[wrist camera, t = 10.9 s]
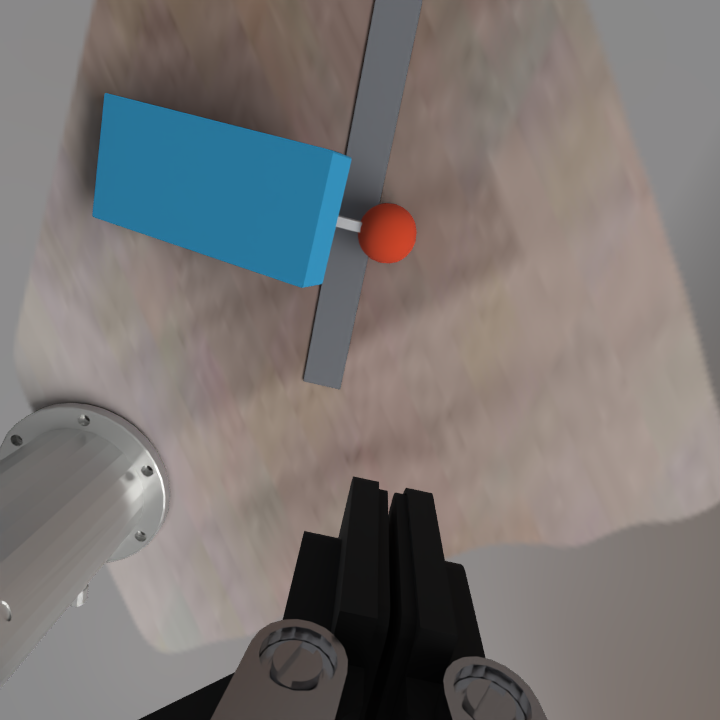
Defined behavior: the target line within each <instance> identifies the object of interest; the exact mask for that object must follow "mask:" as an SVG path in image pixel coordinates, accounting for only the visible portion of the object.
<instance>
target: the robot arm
mask: <svg viewBox="0 0 720 720" xmlns="http://www.w3.org/2000/svg"><path fill="white" fill-rule="evenodd" d="M169 502H170V487H169V480H168V476H167V473H166V470H165V466H164V464H163V462H162V460H161V458H160V456H159V454H158V452H157V451H156V449H155V448H154V447H153V446H152V444H151V443H150V442H149V440H148V439H147V438H146V437H145V436H144V435H143V434H142V433H141V432H140V431H139V430H138V429H137V428H136V427H135V426H133V425H132V424H130V423H129V422H128V421H126V420H125V419H123V418H122V417H120V416H118V415H116V414H114V413H112V412H110V411H108V410H105V409H103V408H99V407H96V406H92V405H88V404H79V403H63V404H54V405H51V406H48V407H45V408H41V409H39V410H38V411H36V412H34V413H32V414H30V415H28V416H27V417H25V418H24V419H22V420H21V421H20V422H18V423H17V424H16V425H15V426H14V427H13V428H12V429H11V430H10V431H9V432H8V434H7V435H6V437H5V439H4V441H3V443H2V445H1V447H0V689H1V688H2V687H3V686H4V684H5V683H6V682H7V681H8V679H9V678H10V677H11V676H12V675H13V674H14V672H15V671H16V670H17V669H18V668H19V666H20V665H21V664H22V663H23V662H24V660H25V659H26V658H27V657H28V656H29V654H30V653H31V652H32V651H33V649H34V648H35V647H36V646H37V644H38V643H39V642H40V641H41V640H42V639H43V637H44V636H45V635H46V634H47V632H48V631H49V630H50V629H51V628H52V627H53V625H54V624H55V623H56V622H57V620H58V619H59V618H60V617H61V616H62V614H63V613H64V612H65V611H66V610H67V608H68V607H69V606H72V607H77V606H81V605H83V604H84V603H85V602H86V601H87V598H88V583H89V582H90V581H91V579H92V578H93V577H94V576H95V575H96V573H97V572H98V571H99V570H100V569H101V567H102V566H103V565H104V564H105V563H108V562H114V561H118V560H122V559H125V558H127V557H129V556H132V555H134V554H136V553H137V552H139V551H140V550H141V549H143V548H144V547H145V546H147V545H148V544H149V542H150V541H151V540H152V539H153V538H154V536H155V535H156V534H157V532H158V531H159V529H160V528H161V526H162V525H163V523H164V521H165V518H166V515H167V513H168V510H169ZM139 720H548V719H547V717H546V715H545V713H544V711H543V709H542V707H541V705H540V703H539V701H538V699H537V697H536V696H535V694H534V693H533V691H532V690H531V688H530V687H529V686H528V684H527V683H526V682H524V680H523V679H522V678H521V677H520V676H519V675H517V674H516V673H514V672H513V671H512V670H510V669H509V668H507V667H506V666H504V665H502V664H500V663H498V662H495V661H493V660H491V659H486V658H485V654H484V650H483V645H482V641H481V637H480V633H479V628H478V624H477V621H476V615H475V611H474V607H473V603H472V598H471V594H470V590H469V585H468V582H467V577H466V573H465V570H464V567H463V566H462V565H461V564H457V563H452V562H448V561H445V559H444V554H443V548H442V543H441V537H440V532H439V526H438V521H437V515H436V510H435V504H434V499H433V494H432V493H428V492H423V491H419V490H414V489H409V488H406V489H405V491H404V493H403V494H400V493H394V496H393V499H392V503H391V507H390V510H389V514H388V491H386V490H381V489H379V482H377V481H372V480H367V479H363V478H358V477H353V479H352V482H351V486H350V491H349V495H348V499H347V503H346V508H345V512H344V516H343V520H342V525H341V529H340V533H339V537H338V538H335V537H330V536H325V535H321V534H316V533H311V532H306V531H304V534H303V538H302V542H301V547H300V551H299V555H298V559H297V563H296V567H295V571H294V575H293V580H292V584H291V588H290V592H289V596H288V600H287V604H286V608H285V613H284V617H283V620H281V621H277V622H274V623H270V624H269V625H267V626H266V627H264V628H263V629H261V630H260V631H259V632H258V633H257V634H256V636H255V637H254V638H253V639H252V641H251V643H250V644H249V646H248V648H247V650H246V652H245V654H244V656H243V658H242V660H241V662H240V664H239V666H238V668H237V670H236V671H235V672H234V673H233V674H230V675H228V676H226V677H224V678H223V679H220V680H218V681H216V682H214V683H212V684H210V685H208V686H206V687H204V688H202V689H200V690H198V691H196V692H194V693H192V694H190V695H188V696H186V697H184V698H182V699H179V700H177V701H175V702H173V703H171V704H169V705H167V706H165V707H163V708H161V709H159V710H157V711H155V712H153V713H151V714H149V715H147V716H145V717H143V718H141V719H139Z"/></svg>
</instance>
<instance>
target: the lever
mask: <svg viewBox="0 0 720 720" xmlns="http://www.w3.org/2000/svg"><path fill="white" fill-rule="evenodd" d="M351 160H352V159H351V157H349V156H346V155H343V154H341V153H338V152H335V151H332V150H329V149H325V148H321V147H317V146H313V145H309V144H305V143H301V142H297V141H293V140H289V139H285V138H281V137H277V136H273V135H270V134H266V133H262V132H258V131H254V130H250V129H246V128H242V127H238V126H234V125H230V124H226V123H222V122H218V121H214V120H210V119H207V118H203V117H199V116H195V115H191V114H187V113H183V112H179V111H175V110H171V109H167V108H163V107H159V106H155V105H151V104H147V103H144V102H140V101H136V100H132V99H128V98H124V97H120V96H116V95H112V94H108V93H105V95H104V105H103V115H102V125H101V135H100V145H99V155H98V165H97V175H96V185H95V195H94V205H93V217H95V218H98V219H101V220H104V221H107V222H110V223H112V224H115V225H118V226H121V227H124V228H127V229H130V230H133V231H136V232H139V233H142V234H145V235H148V236H151V237H154V238H157V239H160V240H163V241H165V242H168V243H171V244H174V245H177V246H180V247H183V248H186V249H189V250H192V251H195V252H198V253H201V254H204V255H207V256H210V257H213V258H216V259H219V260H221V261H224V262H227V263H230V264H233V265H236V266H239V267H242V268H245V269H248V270H251V271H254V272H257V273H260V274H263V275H266V276H269V277H272V278H274V279H277V280H280V281H283V282H286V283H289V284H292V285H295V286H298V287H301V288H303V287H309V286H314V285H320V284H322V283H323V279H324V275H325V271H326V267H327V262H328V258H329V254H330V250H331V245H332V241H333V237H334V233H335V228H336V227H340V228H344V229H347V230H351V231H355V232H358V240H359V244H360V246H361V248H362V250H363V251H364V253H365V254H366V255H367V256H368V257H370V258H371V259H373V260H375V261H377V262H380V263H393V262H398V261H400V260H402V259H403V258H405V257H406V256H407V255H408V254H409V253H410V251H411V250H412V248H413V246H414V243H415V240H416V226H415V222H414V220H413V218H412V216H411V215H410V213H409V212H408V211H407V210H405V209H404V208H403V207H401V206H398V205H396V204H390V203H384V204H379V205H376V206H374V207H372V208H371V209H370V210H368V211H367V212H366V214H365V215H364V216H363V217H362V220H361V221H358V220H354V219H351V218H347V217H343V216H339V211H340V207H341V203H342V199H343V194H344V190H345V186H346V181H347V177H348V173H349V169H350V164H351Z"/></svg>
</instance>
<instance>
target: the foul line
mask: <svg viewBox="0 0 720 720" xmlns="http://www.w3.org/2000/svg"><path fill="white" fill-rule="evenodd" d="M421 5H422V0H376V1H375V6H374V11H373V16H372V22H371V27H370V32H369V38H368V43H367V48H366V53H365V59H364V64H363V69H362V75H361V80H360V85H359V90H358V96H357V101H356V106H355V112H354V117H353V122H352V127H351V133H350V138H349V143H348V149H347V154H346V156H349V157H351V159H352V160H351V164H350V169H349V173H348V177H347V181H346V186H345V190H344V194H343V199H342V203H341V207H340V211H339V216H343V217H347V218H351V219H354V220H358V221H361V220H362V217H363V216H364V215H365V214H366V212H367V211H368V210H370V209H371V208H372V207H374V206H376V205H379V203H380V198H381V194H382V189H383V184H384V180H385V175H386V170H387V165H388V161H389V156H390V151H391V147H392V142H393V137H394V132H395V128H396V123H397V118H398V114H399V109H400V104H401V99H402V95H403V90H404V85H405V81H406V76H407V71H408V66H409V62H410V57H411V52H412V48H413V43H414V38H415V33H416V29H417V24H418V19H419V15H420V10H421ZM367 260H368V256H367V255H366V254H365V253H364V251H363V250H362V248H361V246H360V244H359V240H358V232H355V231H351V230H347V229H344V228H340V227H336V228H335V233H334V237H333V241H332V245H331V250H330V254H329V258H328V262H327V267H326V271H325V275H324V279H323V283H322V286H321V291H320V297H319V302H318V307H317V312H316V318H315V323H314V328H313V334H312V339H311V344H310V349H309V355H308V360H307V365H306V371H305V376H304V381H305V382H309V383H314V384H318V385H322V386H327V387H331V388H336V389H340V387H341V382H342V378H343V373H344V368H345V364H346V359H347V354H348V349H349V345H350V340H351V335H352V330H353V326H354V321H355V316H356V312H357V307H358V302H359V297H360V293H361V288H362V283H363V279H364V274H365V269H366V264H367Z"/></svg>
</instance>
